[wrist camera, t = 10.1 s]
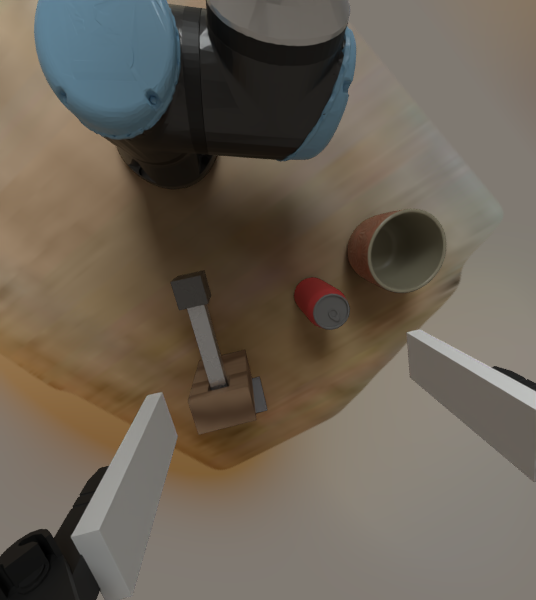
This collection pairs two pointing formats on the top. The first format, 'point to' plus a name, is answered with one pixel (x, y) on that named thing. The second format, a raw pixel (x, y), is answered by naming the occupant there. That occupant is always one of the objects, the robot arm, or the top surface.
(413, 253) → the planter
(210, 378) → the shaft
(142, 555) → the robot arm
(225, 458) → the top surface
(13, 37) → the top surface
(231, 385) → the bearing block
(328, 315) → the beer can
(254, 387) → the pad
